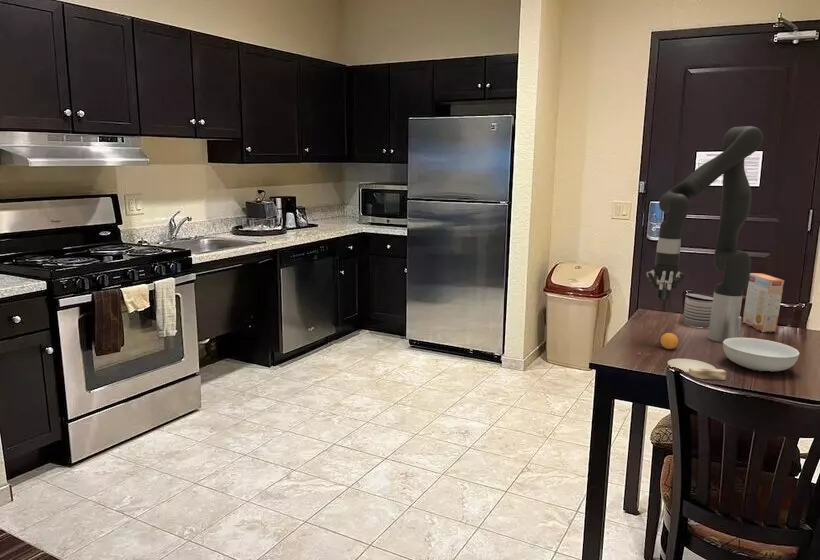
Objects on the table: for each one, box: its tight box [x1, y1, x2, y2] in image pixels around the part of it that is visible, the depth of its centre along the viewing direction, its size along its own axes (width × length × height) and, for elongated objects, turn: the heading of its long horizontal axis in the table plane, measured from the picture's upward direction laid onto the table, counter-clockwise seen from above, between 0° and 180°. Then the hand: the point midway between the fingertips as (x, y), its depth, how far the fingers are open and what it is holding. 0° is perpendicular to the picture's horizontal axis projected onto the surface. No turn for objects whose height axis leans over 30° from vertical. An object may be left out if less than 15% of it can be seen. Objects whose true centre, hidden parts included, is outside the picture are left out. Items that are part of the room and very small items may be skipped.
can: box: [682, 293, 713, 329], centre depth 237 cm, size 11×11×12 cm
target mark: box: [667, 358, 717, 374], centre depth 188 cm, size 14×14×1 cm
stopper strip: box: [688, 368, 727, 381], centre depth 178 cm, size 10×2×2 cm, turn 89°
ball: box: [660, 332, 679, 350], centre depth 205 cm, size 6×6×6 cm
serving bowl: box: [722, 337, 800, 372], centre depth 189 cm, size 21×21×7 cm
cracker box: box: [741, 272, 785, 332], centre depth 234 cm, size 14×6×21 cm, turn 179°
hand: (662, 299), depth 212 cm, fingers closed
